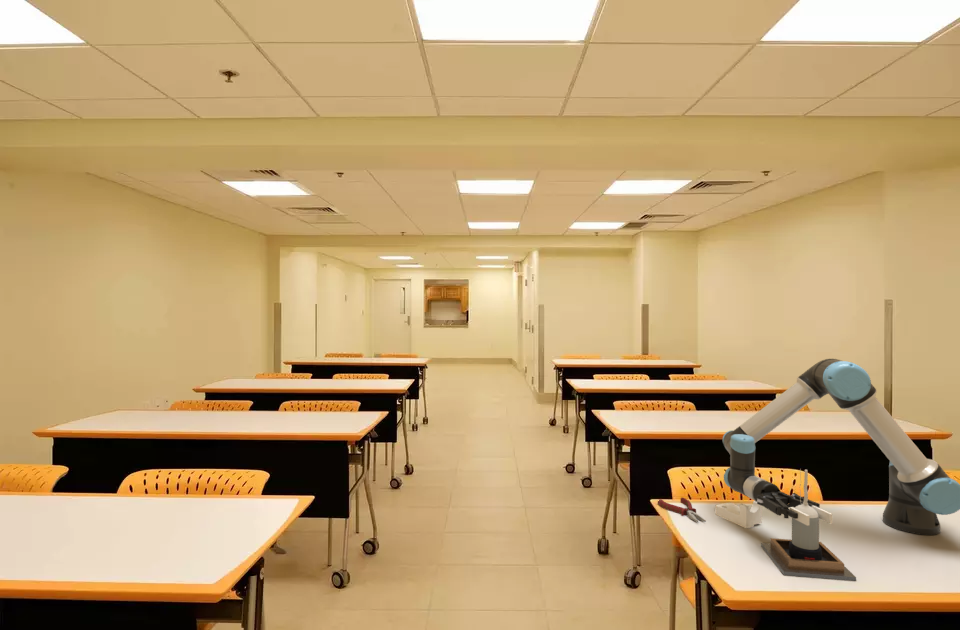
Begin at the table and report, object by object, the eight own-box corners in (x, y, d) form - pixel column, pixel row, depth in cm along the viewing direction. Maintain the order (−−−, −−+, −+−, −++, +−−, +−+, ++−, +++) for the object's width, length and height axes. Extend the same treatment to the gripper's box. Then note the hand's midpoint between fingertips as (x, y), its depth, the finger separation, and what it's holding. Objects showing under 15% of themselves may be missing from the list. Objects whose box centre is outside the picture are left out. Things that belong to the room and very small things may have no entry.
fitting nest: (825, 550, 160) (825, 539, 160) (856, 581, 142) (856, 568, 142) (761, 546, 163) (761, 535, 163) (783, 575, 146) (783, 562, 146)
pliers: (686, 526, 179) (687, 518, 179) (656, 505, 199) (656, 498, 199) (717, 524, 182) (717, 516, 182) (683, 503, 201) (683, 496, 201)
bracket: (761, 525, 179) (761, 503, 179) (746, 529, 177) (746, 506, 177) (730, 512, 191) (730, 491, 191) (715, 515, 189) (715, 494, 189)
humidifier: (807, 564, 148) (808, 475, 147) (782, 551, 155) (782, 467, 155) (828, 559, 150) (829, 472, 150) (802, 547, 158) (803, 464, 158)
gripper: (788, 501, 172) (849, 530, 149) (734, 505, 169) (788, 535, 146) (789, 478, 172) (849, 504, 149) (735, 481, 169) (788, 508, 146)
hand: (819, 519), depth 148 cm, fingers closed on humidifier, 7 cm apart
